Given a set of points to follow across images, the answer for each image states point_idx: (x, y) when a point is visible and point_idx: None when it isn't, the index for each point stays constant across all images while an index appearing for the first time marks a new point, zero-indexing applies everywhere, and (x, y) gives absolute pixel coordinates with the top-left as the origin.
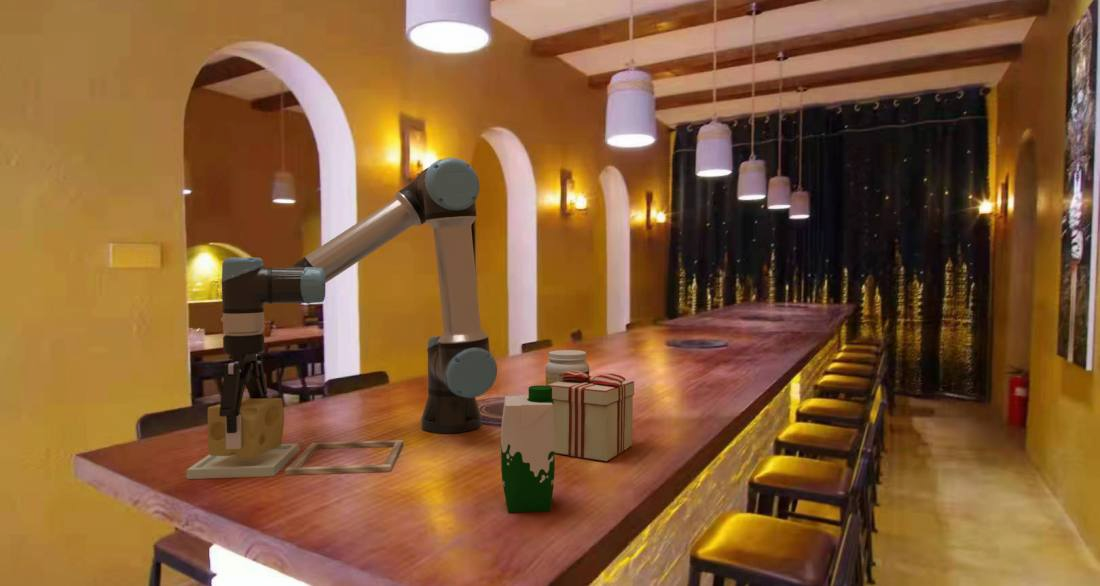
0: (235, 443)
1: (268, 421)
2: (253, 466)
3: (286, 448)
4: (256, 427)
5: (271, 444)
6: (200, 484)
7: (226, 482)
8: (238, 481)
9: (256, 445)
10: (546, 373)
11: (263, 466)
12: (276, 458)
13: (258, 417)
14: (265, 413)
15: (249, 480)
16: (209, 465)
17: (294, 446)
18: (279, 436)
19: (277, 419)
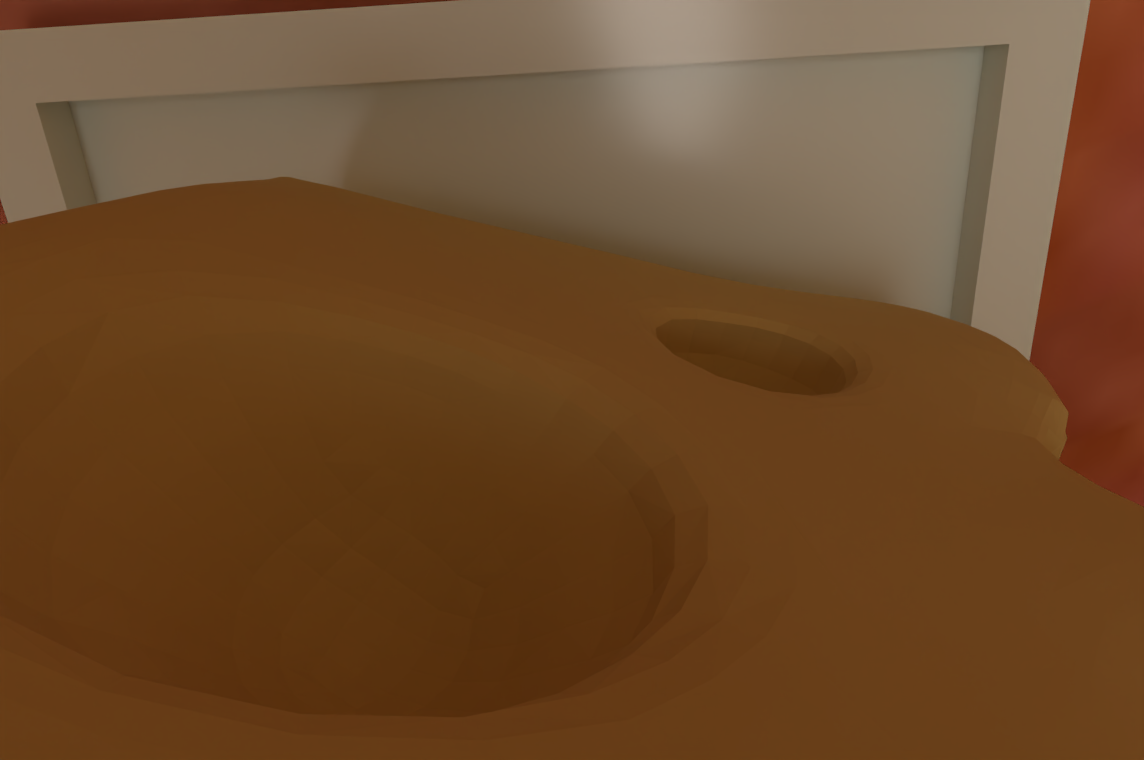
0: None
1: (314, 500)
2: (995, 255)
3: (89, 180)
4: (1079, 520)
5: (518, 246)
6: None
7: (1107, 413)
8: (1109, 311)
9: (963, 346)
10: None
11: (1027, 123)
12: (506, 149)
13: (1090, 677)
14: (701, 638)
15: (1108, 209)
16: None
17: (94, 43)
18: (304, 203)
19: (159, 342)
